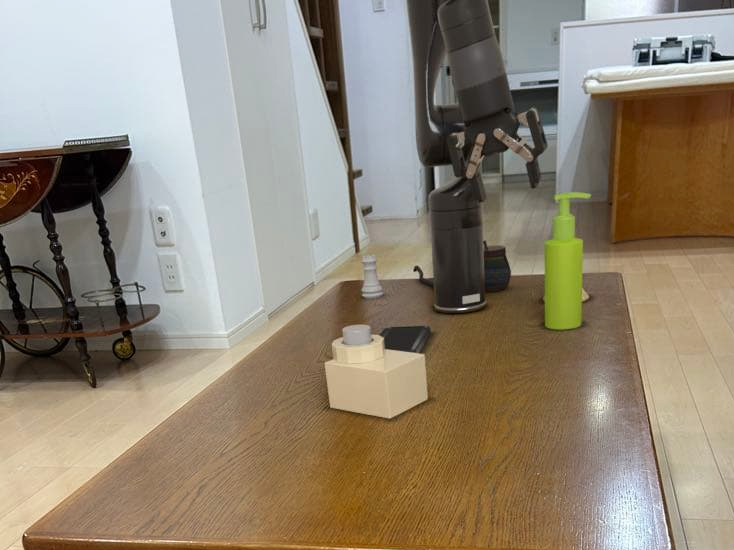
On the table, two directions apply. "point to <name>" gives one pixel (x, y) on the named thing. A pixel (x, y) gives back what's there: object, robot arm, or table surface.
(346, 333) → the grey push button
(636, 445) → the table surface
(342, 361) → the push button station
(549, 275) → the soap dispenser
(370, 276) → the rook chess piece
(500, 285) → the mate gourd
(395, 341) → the phone
